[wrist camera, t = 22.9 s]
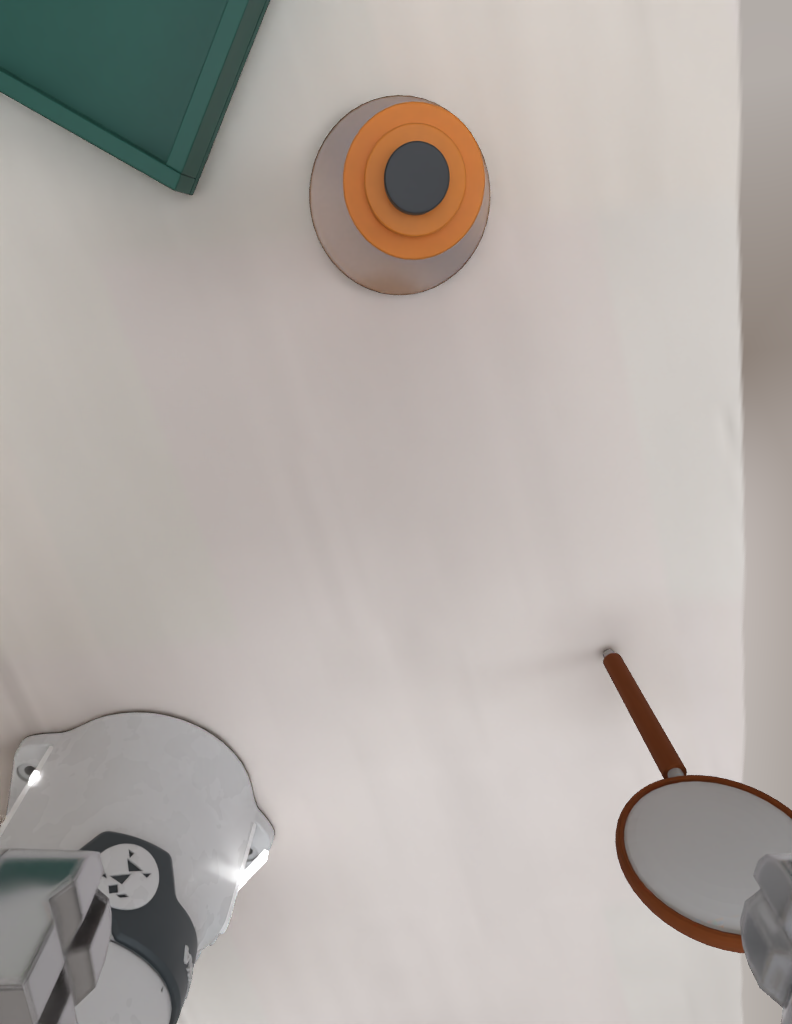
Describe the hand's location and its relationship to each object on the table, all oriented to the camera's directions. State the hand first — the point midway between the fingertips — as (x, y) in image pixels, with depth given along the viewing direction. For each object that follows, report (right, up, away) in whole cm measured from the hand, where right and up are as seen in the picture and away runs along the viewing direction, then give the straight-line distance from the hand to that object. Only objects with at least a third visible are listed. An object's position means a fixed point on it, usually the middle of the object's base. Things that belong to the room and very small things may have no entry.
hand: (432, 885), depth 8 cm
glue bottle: (0, +20, +25) cm, 32 cm away
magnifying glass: (+14, -4, +36) cm, 38 cm away
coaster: (0, +20, +25) cm, 33 cm away
